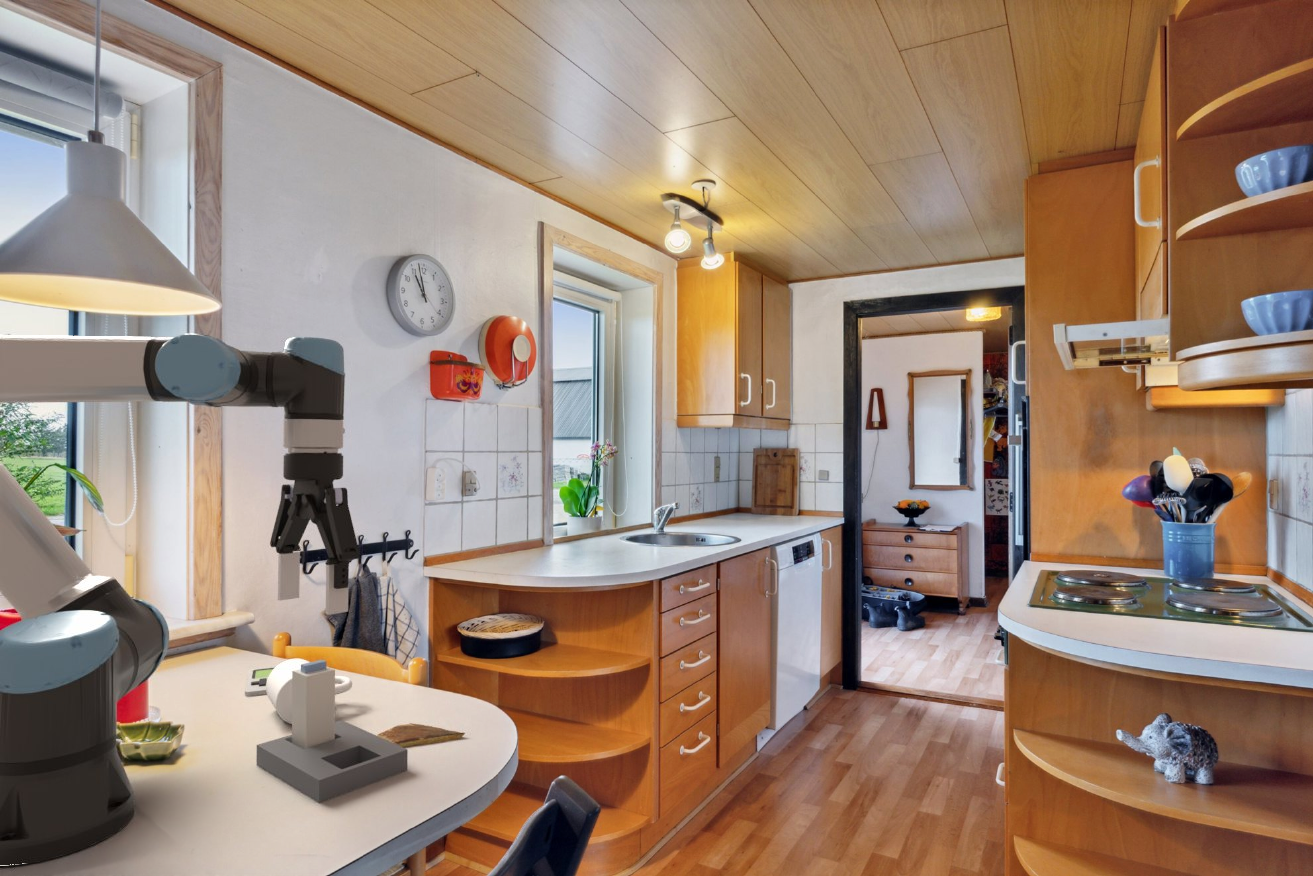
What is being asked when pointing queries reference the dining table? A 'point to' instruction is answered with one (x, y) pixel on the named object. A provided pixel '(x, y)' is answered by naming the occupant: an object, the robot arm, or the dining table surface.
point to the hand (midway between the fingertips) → (311, 605)
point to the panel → (333, 762)
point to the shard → (418, 735)
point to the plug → (313, 704)
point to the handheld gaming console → (257, 681)
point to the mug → (282, 687)
